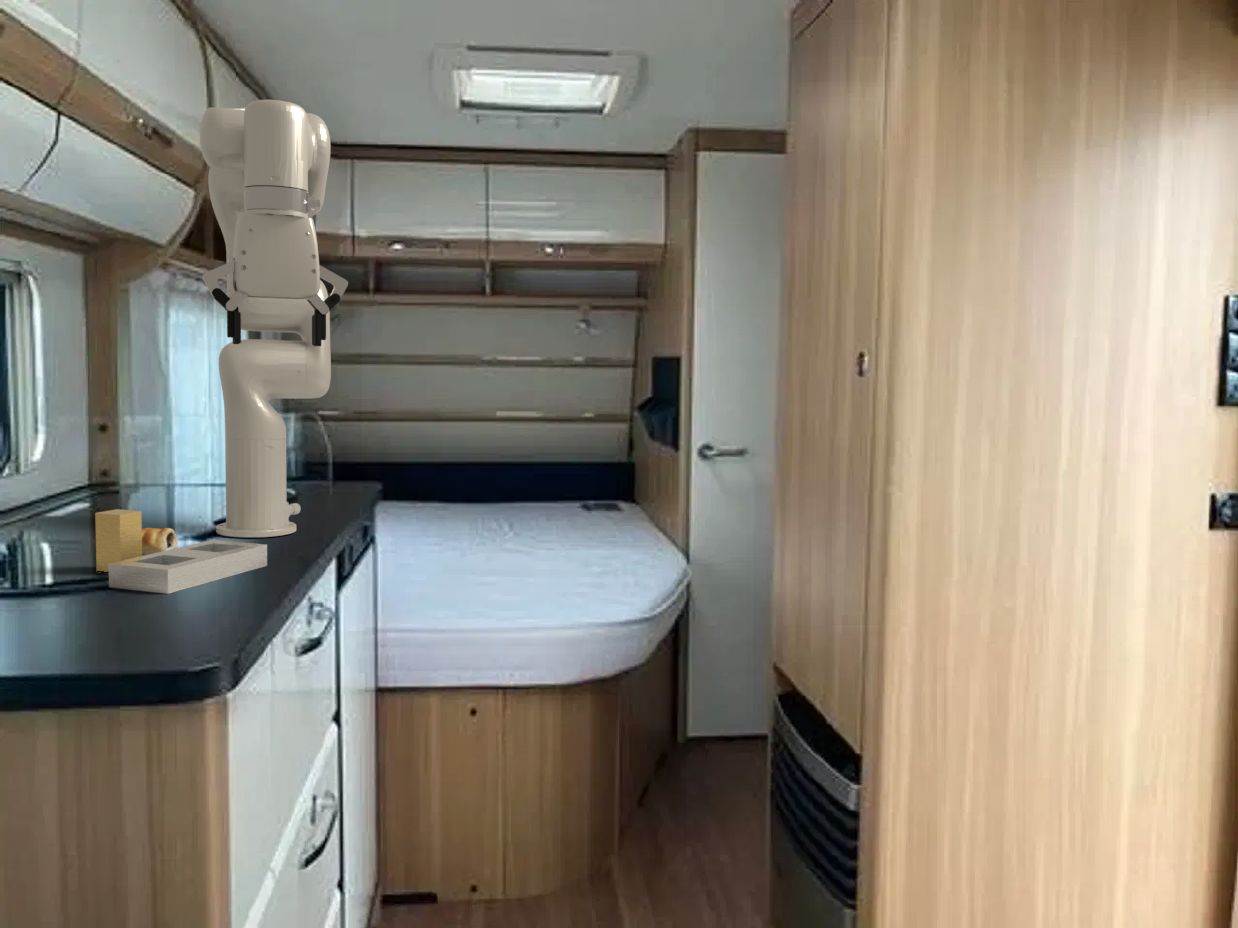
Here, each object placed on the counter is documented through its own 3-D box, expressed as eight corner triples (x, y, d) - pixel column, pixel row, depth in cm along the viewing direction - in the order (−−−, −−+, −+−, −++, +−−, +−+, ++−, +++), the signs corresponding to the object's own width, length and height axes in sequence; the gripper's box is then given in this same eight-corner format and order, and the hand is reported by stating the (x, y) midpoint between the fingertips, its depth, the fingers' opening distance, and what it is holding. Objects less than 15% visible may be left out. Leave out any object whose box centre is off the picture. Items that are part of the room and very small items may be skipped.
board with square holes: (213, 560, 158) (213, 539, 158) (267, 565, 155) (267, 544, 155) (108, 587, 139) (108, 563, 139) (168, 593, 136) (167, 569, 136)
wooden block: (118, 566, 152) (117, 509, 151) (142, 569, 151) (141, 511, 150) (96, 571, 148) (95, 512, 147) (120, 574, 147) (119, 514, 146)
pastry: (99, 555, 161) (99, 529, 160) (118, 548, 167) (118, 523, 167) (165, 557, 161) (164, 531, 161) (181, 549, 168) (181, 524, 167)
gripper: (342, 214, 144) (342, 347, 145) (199, 204, 137) (201, 343, 138) (353, 208, 137) (352, 347, 138) (203, 196, 130) (205, 343, 131)
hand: (277, 345), depth 138 cm, fingers open, 9 cm apart
